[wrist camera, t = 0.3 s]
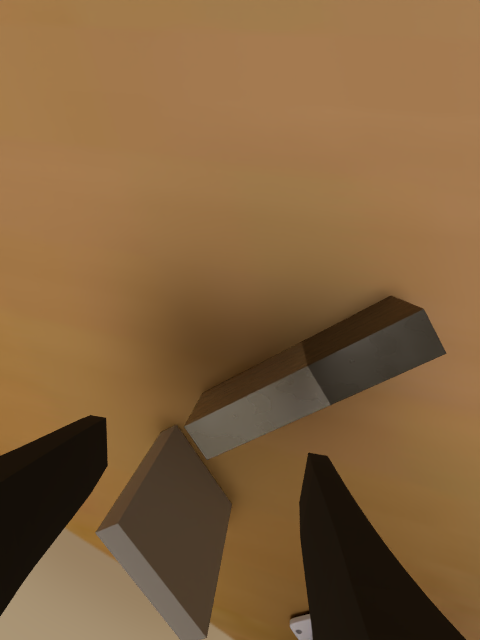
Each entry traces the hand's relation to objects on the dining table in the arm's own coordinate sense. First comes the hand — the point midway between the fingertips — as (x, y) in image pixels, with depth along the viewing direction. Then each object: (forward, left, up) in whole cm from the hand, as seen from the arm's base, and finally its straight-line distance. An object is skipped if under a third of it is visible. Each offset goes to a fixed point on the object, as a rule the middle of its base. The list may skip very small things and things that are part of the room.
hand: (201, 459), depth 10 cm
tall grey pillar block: (-2, -3, -10) cm, 11 cm away
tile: (-6, +8, -10) cm, 14 cm away
